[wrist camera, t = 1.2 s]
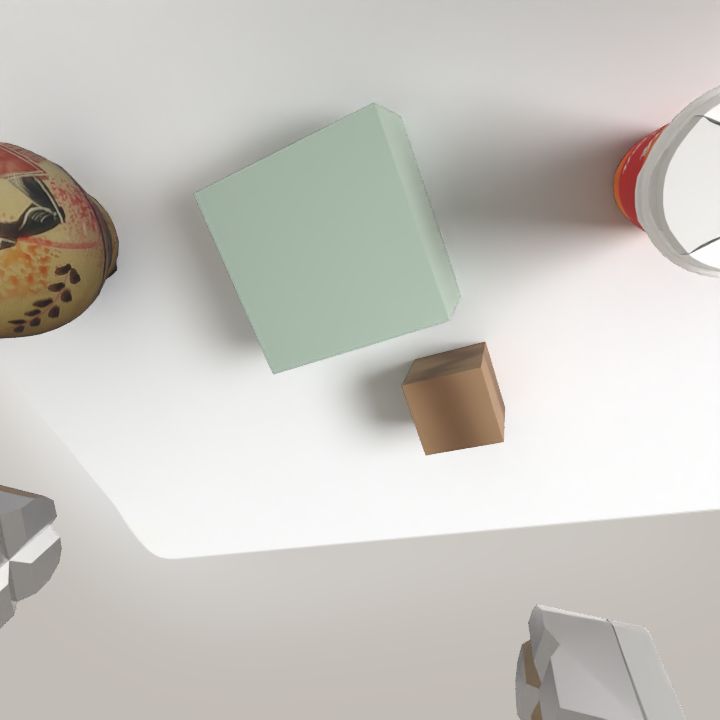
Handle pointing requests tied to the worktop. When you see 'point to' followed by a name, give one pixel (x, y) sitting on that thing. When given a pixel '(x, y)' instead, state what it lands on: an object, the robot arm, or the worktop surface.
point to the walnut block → (455, 400)
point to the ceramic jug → (48, 245)
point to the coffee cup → (678, 186)
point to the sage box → (333, 241)
